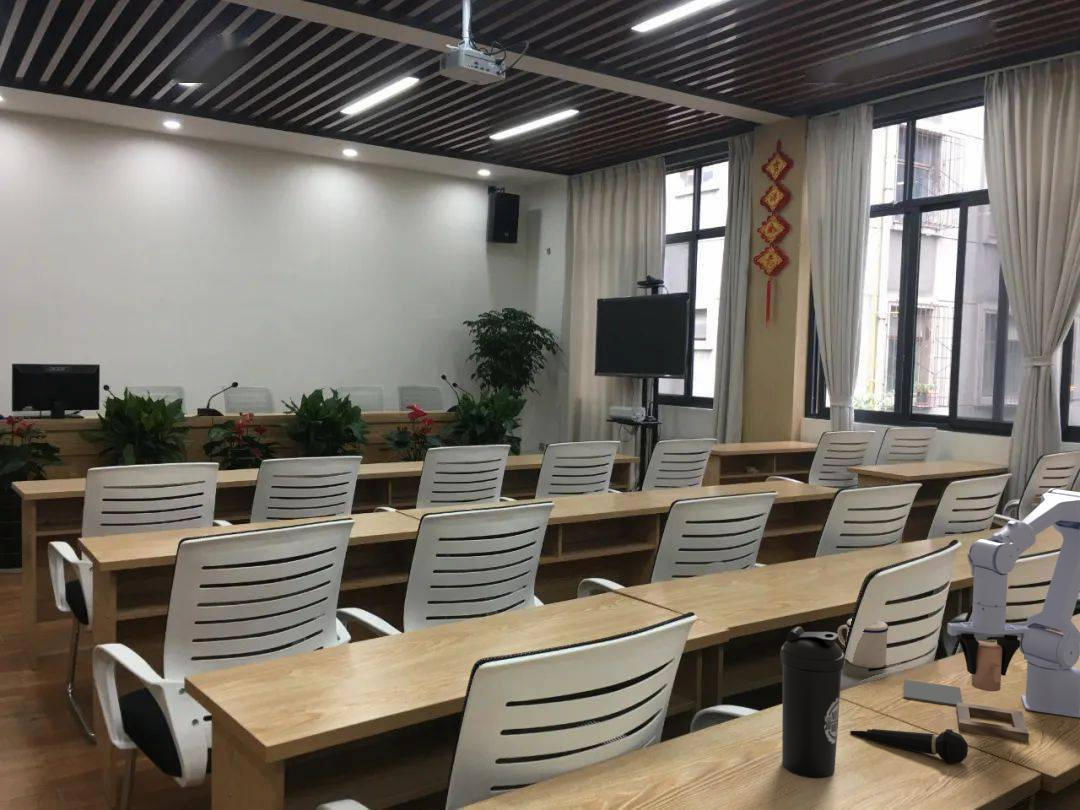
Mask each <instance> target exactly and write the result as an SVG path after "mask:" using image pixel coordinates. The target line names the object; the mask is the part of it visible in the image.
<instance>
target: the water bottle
mask: <svg viewBox="0 0 1080 810" xmlns="http://www.w3.org/2000/svg"><path fill="white" fill-rule="evenodd" d="M837 640H839V638H838V633H836V632H832V631H805V630H804V629H803V627H801V626H795V627H794V628H792V629H791V630H790V631H788V633H787V635H786V641H784V643H783V645H781V648H780V660H781V663H782V725H781V726H782V734H781V735H782V737H781V738H782V739H781V740H782V741H781V742H782V744H781V745H782V748H781V749H782V756H781V757H782V758H781V762H782V766H783V768H784V769H785V770H787V772H790V773H792V774H794V775H796V776H799V777H803V778H808V779H809V778H810V779H824V778H828V777H831V776H833V775H834V774H835V769H836V758H837V757H836V756H837V755H836V753H837V744H838V743H837V741H838V731H839V730H838V729H839V718H840V704H841V703H840V702H841V701H840V699H841V685H842V684H841V681H842V670H843V669H844V666H845V653H844V652H843V651H842V649H841V646H840V645H839V644H838V643H836V641H837Z"/></svg>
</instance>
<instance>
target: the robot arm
mask: <svg viewBox="0 0 1080 810" xmlns="http://www.w3.org/2000/svg"><path fill="white" fill-rule="evenodd" d="M1050 527H1053V528H1054V530H1056V531H1057V532H1059V533H1060V534H1061V536H1062V539H1063V540H1062V544H1061V546H1060V550H1059V554H1058V557H1057V560H1056V564H1055V567H1054V569H1053V572H1052V573H1053V574H1052V577H1051V578H1050V579H1051V580H1050V583H1049V585H1048V591H1047V593H1046V596H1045V599H1044V602H1043V603H1044V604H1043V606H1042V609H1041V611H1039V612H1038V613H1035V614H1032V615H1030V616H1028V617H1027V620H1026V623H1025V624H1024V625H1016V624H1008V623H1007V624H1006V619H1007V618H1006V614H1007V612H1006V611H1007V594H1008V593H1007V592H1008V574H1009V573H1012V571H1013V570H1014V568H1015V565H1016V562H1017V561H1018V560H1019V558H1020V555H1021V554H1023V553H1025V551H1027V550H1028V549H1030V548H1031V547H1032V546H1034V545H1035V543H1036V542H1037V541H1036V540H1037V539H1036V535H1039V534H1040V533H1042V532H1043V531H1045V530H1046V529H1048V528H1050ZM966 555H967V557H966V558H967V562H968V564H969V565H970V569H971V570H970V574H971V576H972V577H973V589H972V590H973V593H972V609H971V610H972V614H971V621H965V622H947V627H946V629H947V631H946V632H947V634H948V635H949V636H952V637H953V636H956V638H957V640H958V642H959V644H960V647H961V650H962V652H963V656H964V659H965V665H966V670H967V672H968V673H969V674H971V675H972V674H975V672H976V656H977V650H978V646H979V642H978V641H979V640H977V639H976V638H977V636H978V637H995V638H996V639H995V640H996V644H998V645H1000V646H1002V668H1001V677H1002V676H1003V677H1004V676H1006V675H1007V671H1008V669H1009V666H1010V662H1011V661H1012V659H1013V656H1014V655H1015V653H1016V652H1017V651H1018V649H1019V651H1020V653H1021V654H1022V655H1023V660H1026V662H1027V663H1026V665H1027V666H1026V683H1025V684H1026V686H1025V687H1026V688H1025V694H1021V700H1022V703H1023V705H1024V708H1025V710H1026V711H1032V712H1037V713H1044V714H1050V715H1051V714H1052V715H1058V716H1063V717H1064V716H1065V717H1072V718H1078V719H1079V718H1080V668H1079V667H1077V666H1074V665H1075V664H1077V663H1078V661H1079V659H1080V630H1079V629H1078V627H1077V626H1076V625H1075V624H1074V623H1073V621H1072V618H1073V614H1074V612H1075V608H1076V605H1077V602H1078V598H1079V595H1080V492H1078V491H1072V490H1065V489H1059V488H1057V487H1053V488H1049V489H1048V490H1047V491H1046V492H1045V493H1043V494H1042V495H1041V498H1040V504H1038V505H1037V507H1035V509H1033V510H1032V511H1031V512H1030V513H1029V514H1028V515H1027V516H1025V518H1024V519H1022V521H1021V520H1015V519H1014V520H1013V519H1011V520H1009V521H1008V522H1007V523H1006V525H1004V526H1003V527H1002V528H1000V529H999V530H998V531H996V532H994V533H993V534H992V535H991V536H990V537H988V538H987V539H984V538H981V539H978V540H977V541H974V542H973V543H972V544H971V545H970V548H969V549H968V553H967V554H966ZM1051 630H1052V631H1051ZM1054 631H1055V632H1054ZM975 636H976V637H975Z"/></svg>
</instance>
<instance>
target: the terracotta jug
mask: <svg viewBox="0 0 1080 810" xmlns="http://www.w3.org/2000/svg"><path fill="white" fill-rule="evenodd" d="M977 641H978V642H979V646H978V650H977V656H976V672H975V674H971V686H972V687H973V688H975V689H977V690H980V691H986V692H998V691H1000V690H1001V687H1002V686H1001V685H1002V684H1001V683H1002V675H1001V668H1002V646H1000V645H998V644H997V643H995V642H990V641H984V640H977Z"/></svg>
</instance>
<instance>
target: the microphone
mask: <svg viewBox="0 0 1080 810" xmlns="http://www.w3.org/2000/svg"><path fill="white" fill-rule="evenodd" d="M849 734H850V735H852V736H855V735H856V736H855V737H858V738H863V739H866V740H867V739H868V741H871V742H872V741H873V742H874V743H876V742H877V744H880V745H881V744H882V745H885V744H886V745H885V746H889V745H890V747H893V746H894V748H899V749H903V750H909V751H912V752H916V751H917V753H923V754H928V755H931V756H935V755H938V756H939V757H940V759H941V760H943V761H944V762H945V763H946V764H949V765H953V764H959V763H962V762H963V761H964V760H965V759H966V758H967V757H968V753H969V745H968V742H967V740H965V738H964V737H963V735H961V734H960V733H958V732H955V731H954V730H953V729H951V728H950V729H948V728H946V729H945V730H944V731H942V732H940V733H939V735H936V734H935V733H927V732H926V733H925V732H915V731H902V730H893V729H891V730H889V729H878V728H877V729H876V728H872V729H868V728H867V730H850V731H849ZM873 742H872V743H873Z"/></svg>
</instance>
